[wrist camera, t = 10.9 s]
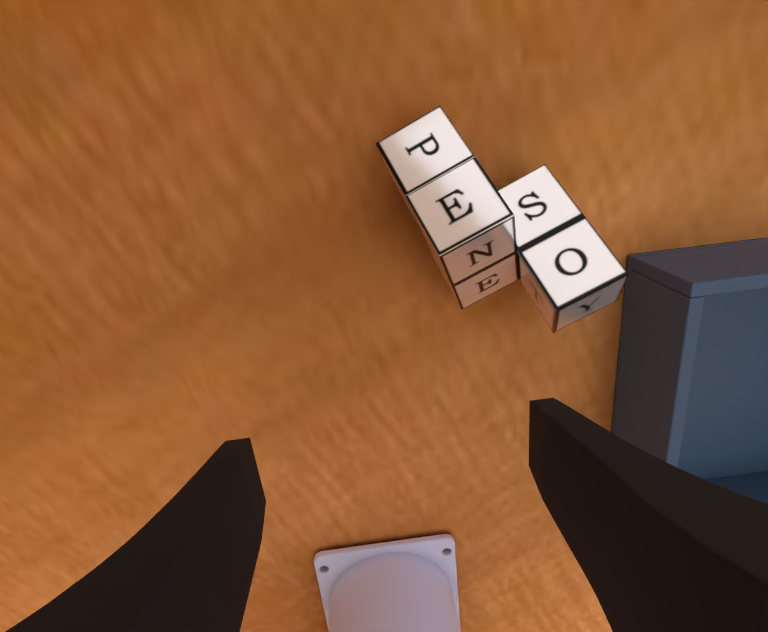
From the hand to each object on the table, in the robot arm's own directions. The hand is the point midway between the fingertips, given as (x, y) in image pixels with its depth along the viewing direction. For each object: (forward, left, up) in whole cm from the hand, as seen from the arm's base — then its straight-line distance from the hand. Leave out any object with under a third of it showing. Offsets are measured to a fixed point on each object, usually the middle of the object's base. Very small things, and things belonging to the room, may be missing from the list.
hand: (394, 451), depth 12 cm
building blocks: (+4, -5, -11) cm, 12 cm away
